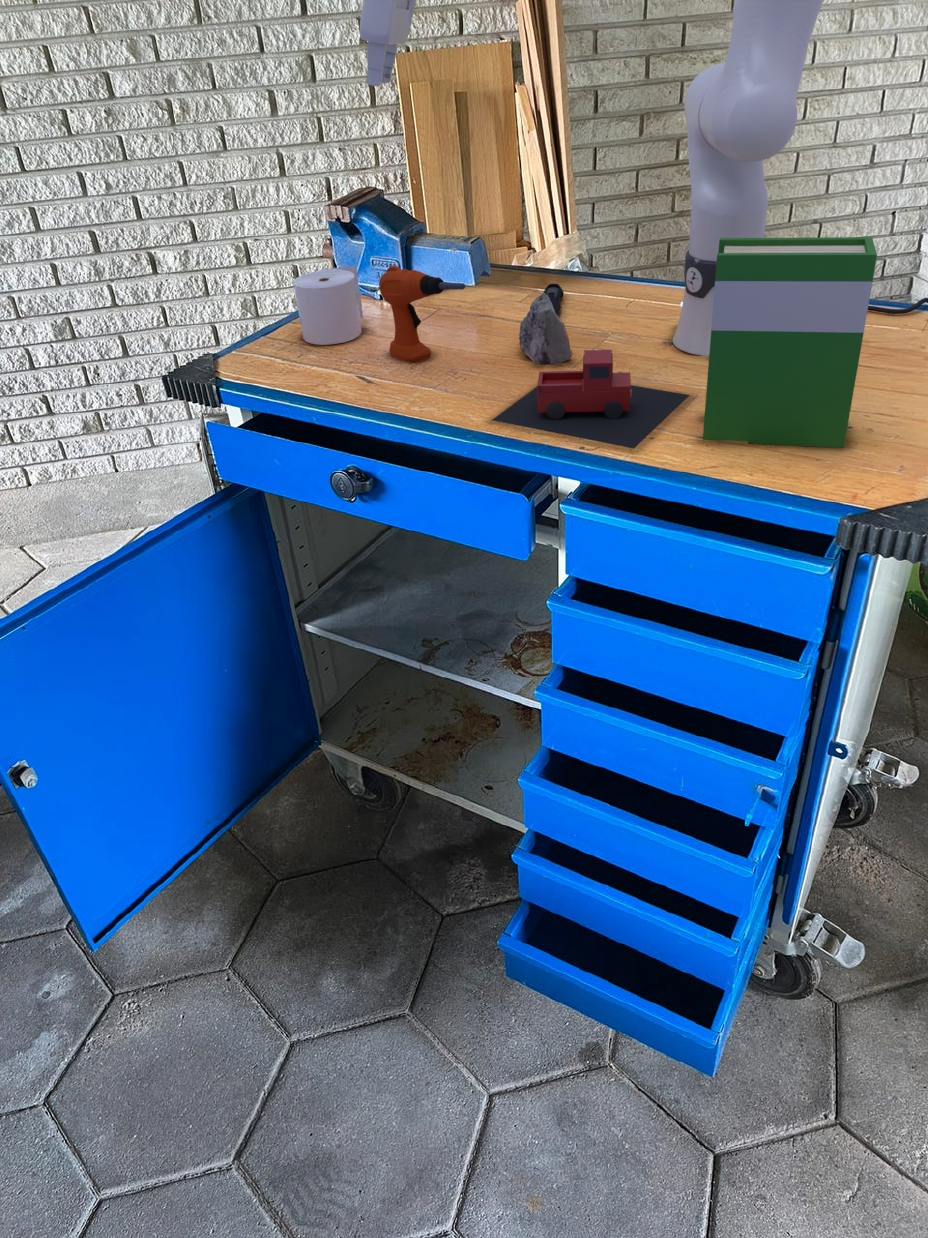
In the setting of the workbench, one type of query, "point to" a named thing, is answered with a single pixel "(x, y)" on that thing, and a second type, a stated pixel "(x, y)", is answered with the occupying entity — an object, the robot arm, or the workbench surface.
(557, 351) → the mineral rock
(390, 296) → the toy drill
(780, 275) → the hardback book
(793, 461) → the workbench surface
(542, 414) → the mat
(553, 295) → the electric trimmer
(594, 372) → the toy pickup truck
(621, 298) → the workbench surface
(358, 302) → the toilet tissue
